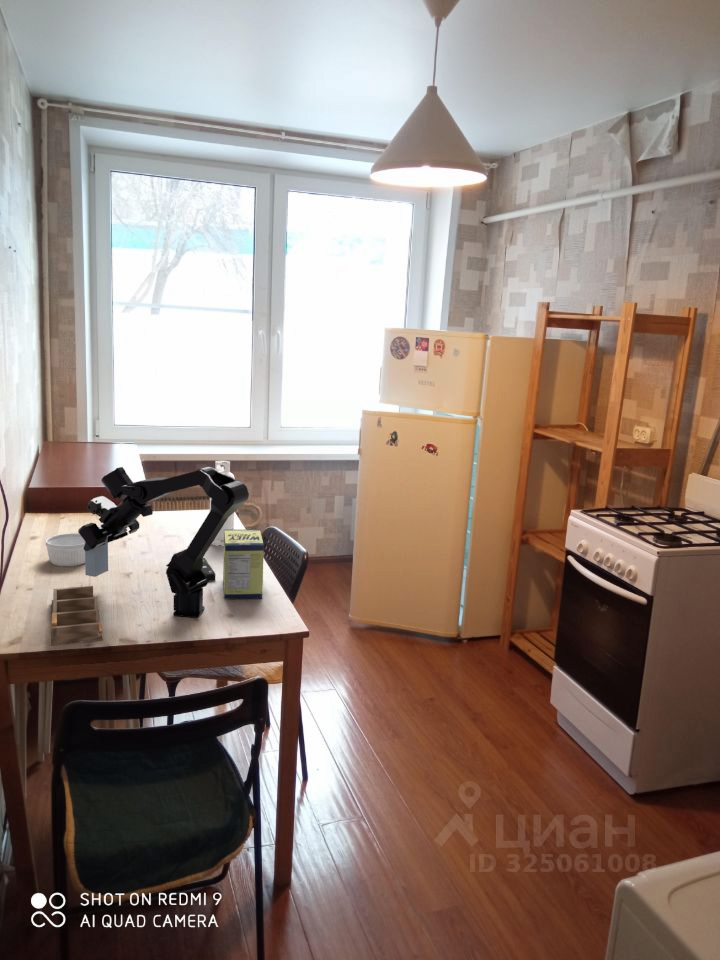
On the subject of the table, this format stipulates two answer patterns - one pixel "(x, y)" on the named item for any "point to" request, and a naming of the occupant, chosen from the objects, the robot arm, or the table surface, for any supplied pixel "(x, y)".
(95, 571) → the blanking panel
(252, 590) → the protein box
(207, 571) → the disk drive
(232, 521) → the bottle
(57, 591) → the rack
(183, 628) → the table surface
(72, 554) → the ramekin
